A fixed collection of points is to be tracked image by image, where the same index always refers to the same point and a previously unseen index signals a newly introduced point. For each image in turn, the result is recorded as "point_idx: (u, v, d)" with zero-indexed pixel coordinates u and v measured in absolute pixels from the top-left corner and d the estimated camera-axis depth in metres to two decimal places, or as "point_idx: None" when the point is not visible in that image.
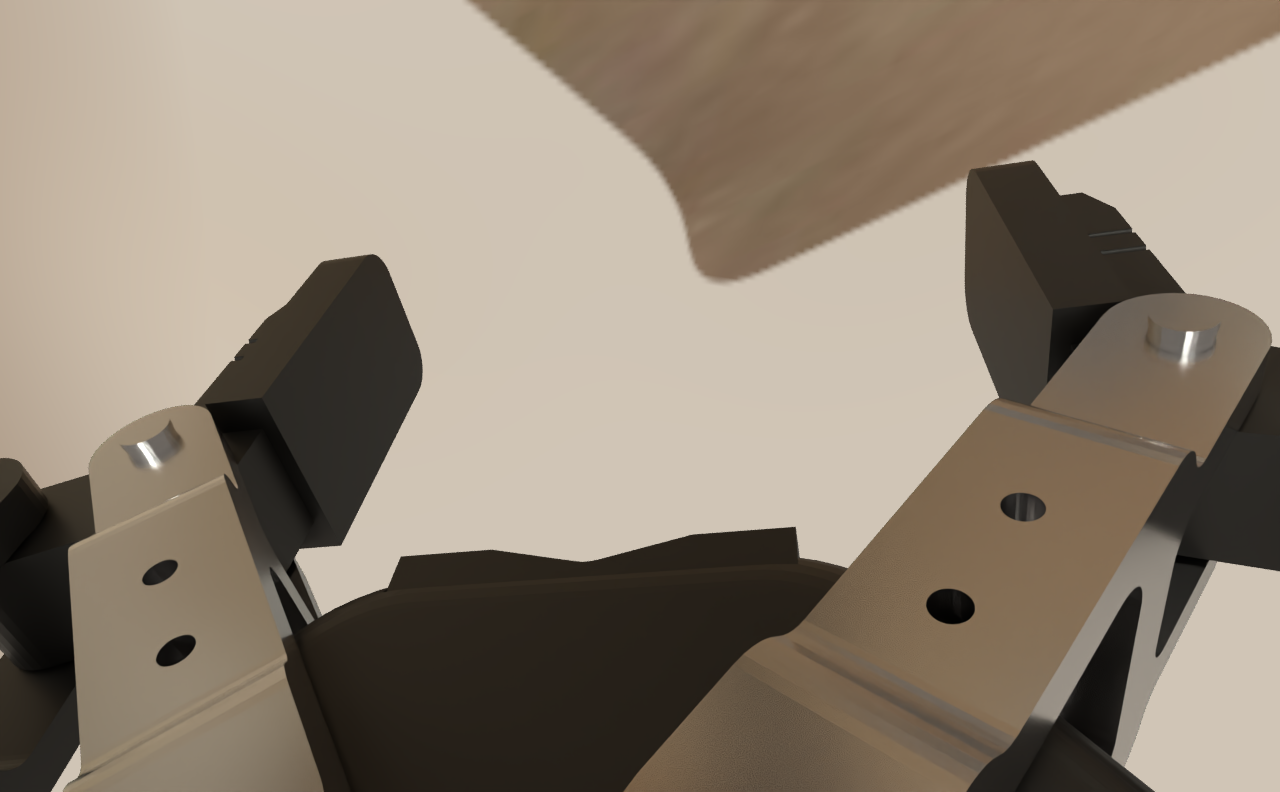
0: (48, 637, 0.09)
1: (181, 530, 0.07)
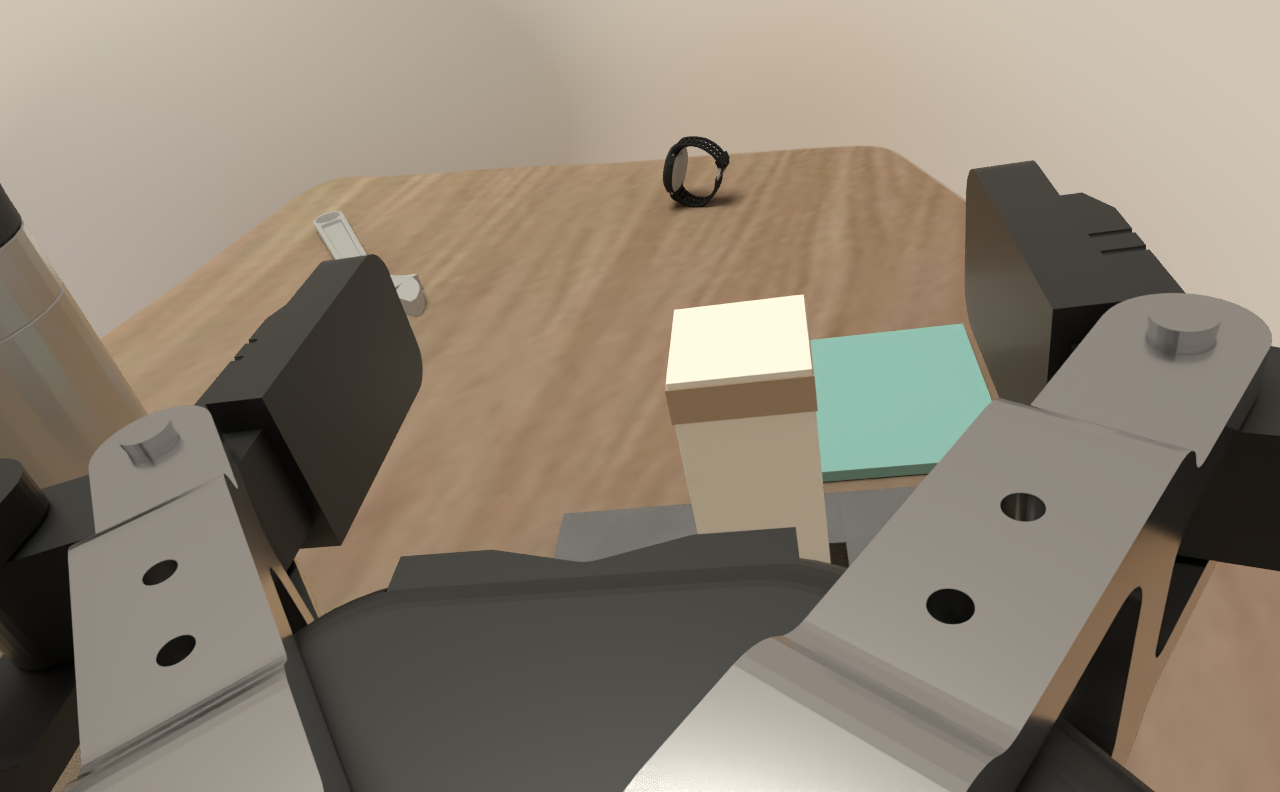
0: (48, 637, 0.09)
1: (181, 530, 0.07)
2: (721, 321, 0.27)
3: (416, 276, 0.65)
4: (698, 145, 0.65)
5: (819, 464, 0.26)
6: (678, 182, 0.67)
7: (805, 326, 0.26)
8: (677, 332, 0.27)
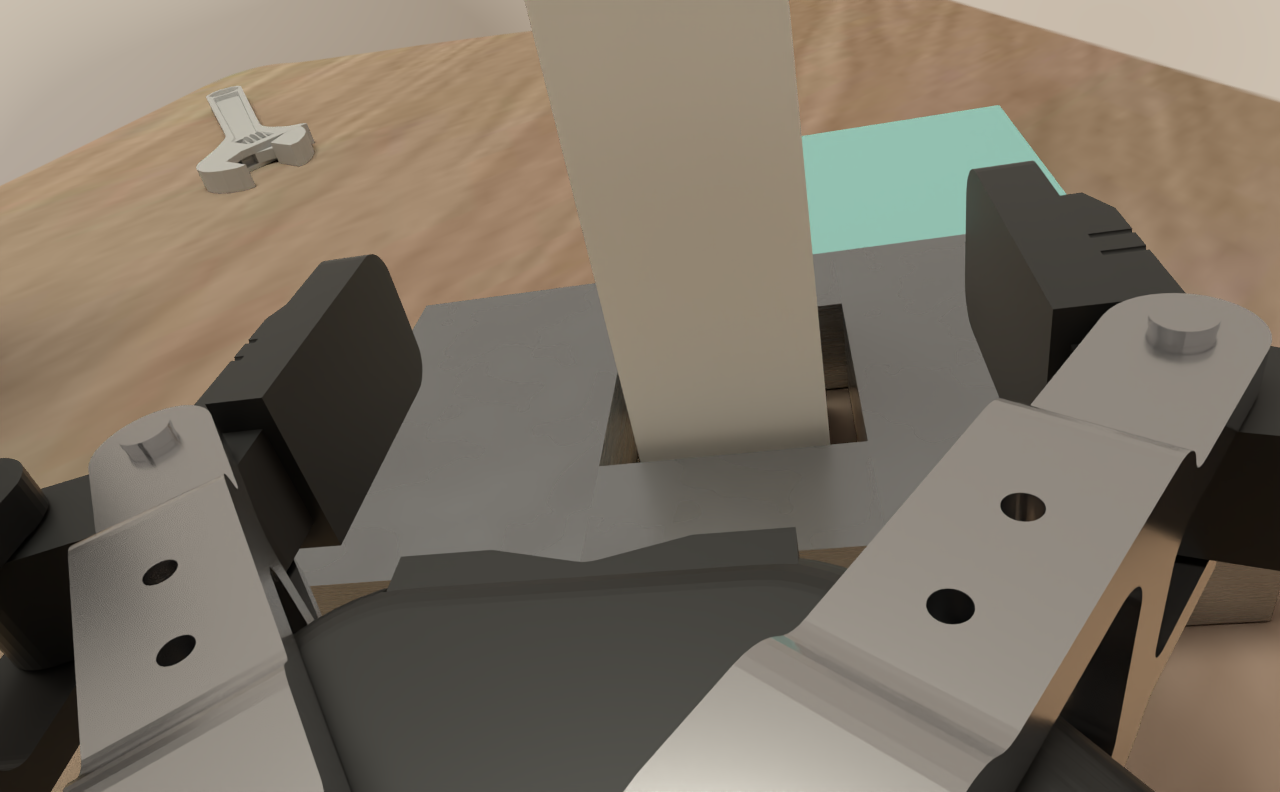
0: (48, 637, 0.09)
1: (181, 530, 0.07)
2: None
3: (305, 125, 0.53)
4: None
5: (785, 1, 0.13)
6: None
7: None
8: None
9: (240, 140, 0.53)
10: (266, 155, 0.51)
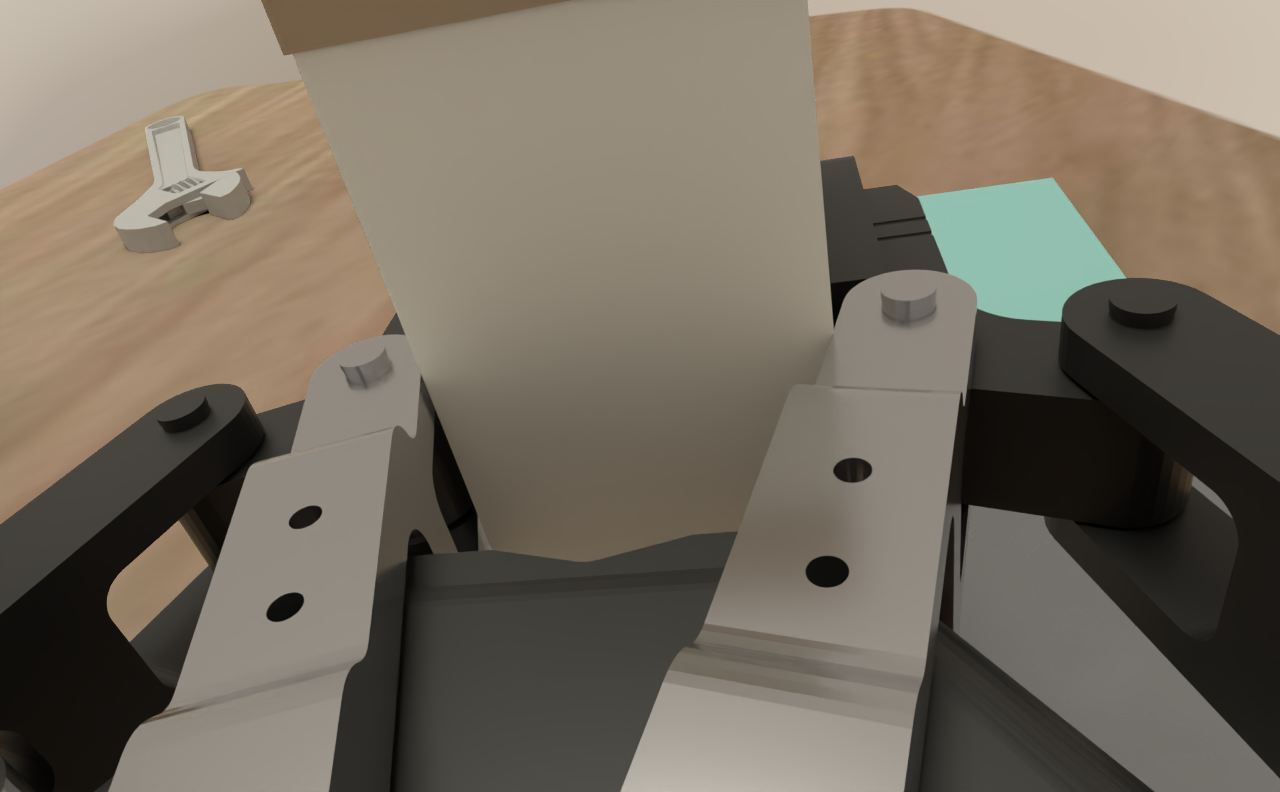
0: None
1: (338, 477, 0.07)
2: None
3: (242, 171, 0.47)
4: None
5: (818, 214, 0.07)
6: None
7: None
8: None
9: (169, 187, 0.47)
10: (196, 206, 0.45)
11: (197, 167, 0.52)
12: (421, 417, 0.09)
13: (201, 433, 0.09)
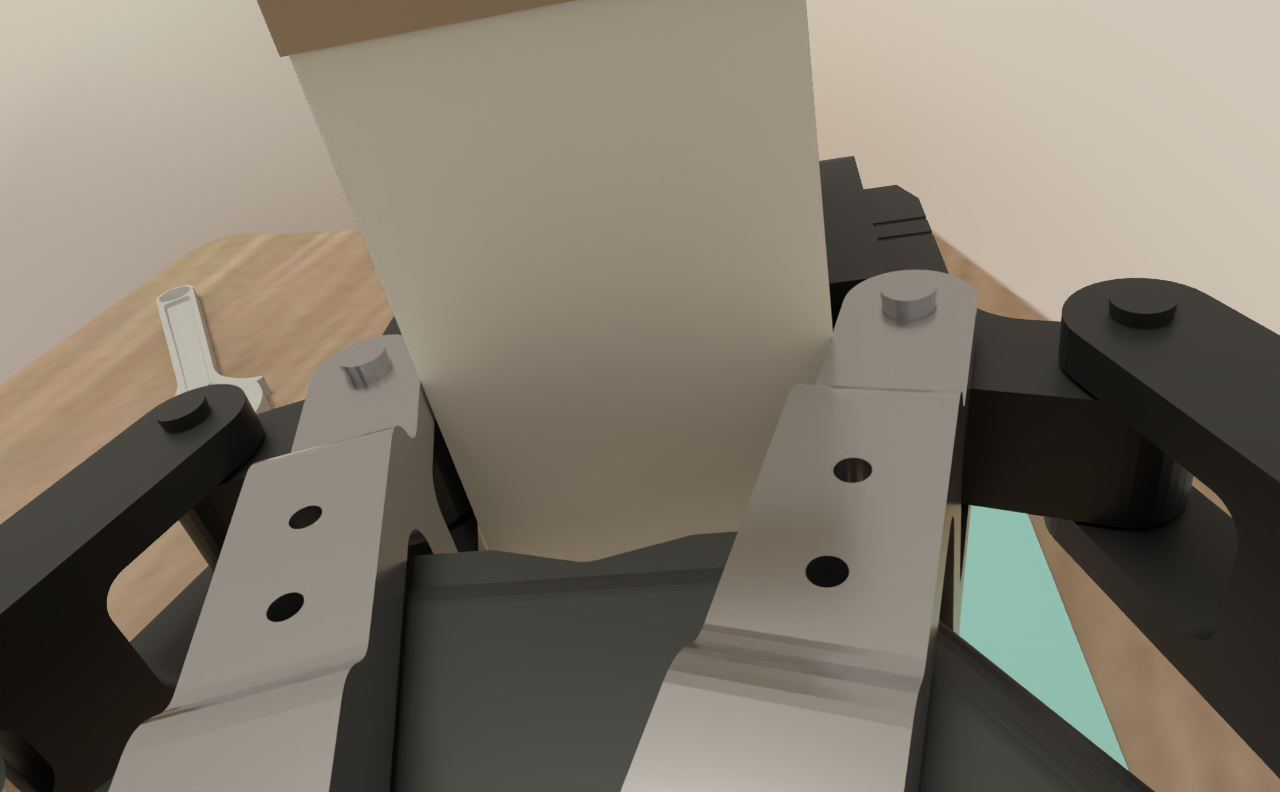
0: None
1: (338, 477, 0.07)
2: None
3: (262, 379, 0.50)
4: None
5: (817, 216, 0.07)
6: None
7: None
8: None
9: None
10: None
11: (214, 358, 0.56)
12: (421, 417, 0.09)
13: (201, 433, 0.09)
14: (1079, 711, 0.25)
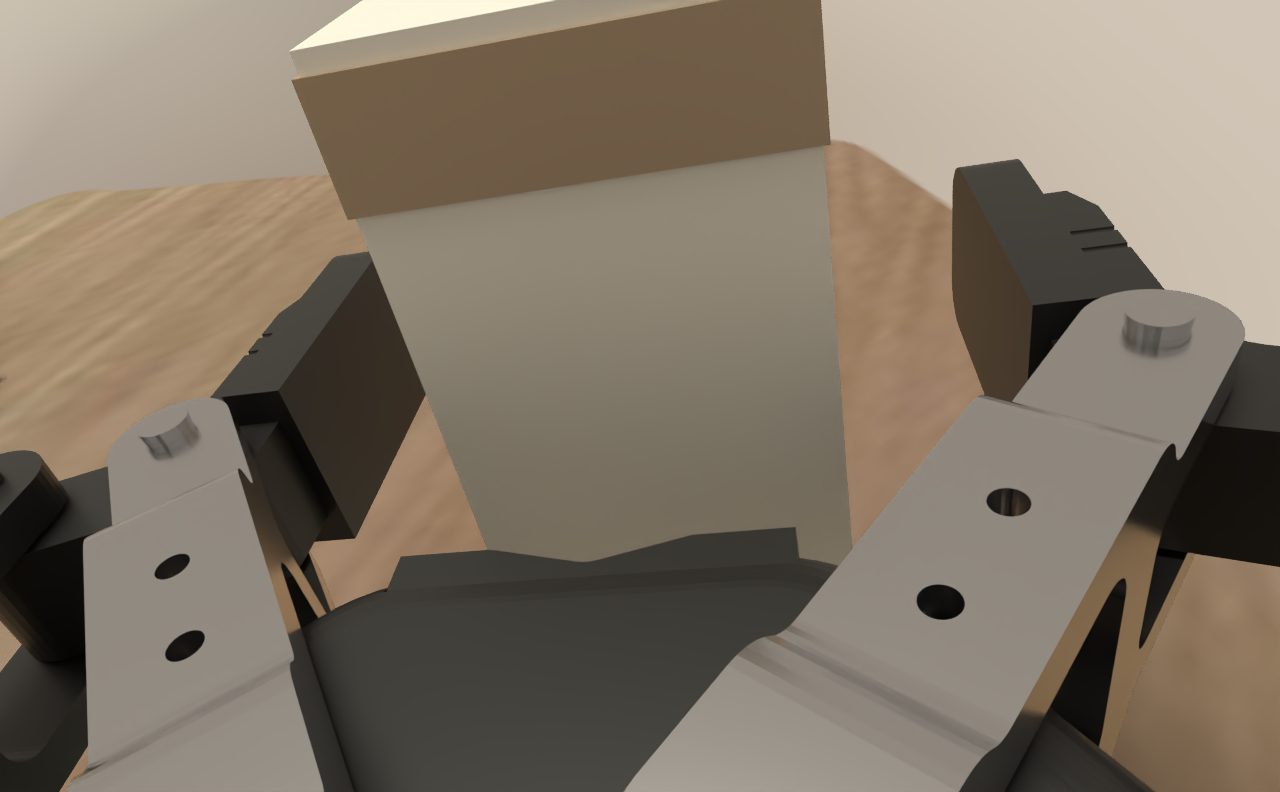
0: (65, 629, 0.09)
1: (194, 524, 0.07)
2: None
3: None
4: None
5: (833, 352, 0.08)
6: None
7: None
8: None
9: None
10: None
11: None
12: None
13: None
14: None
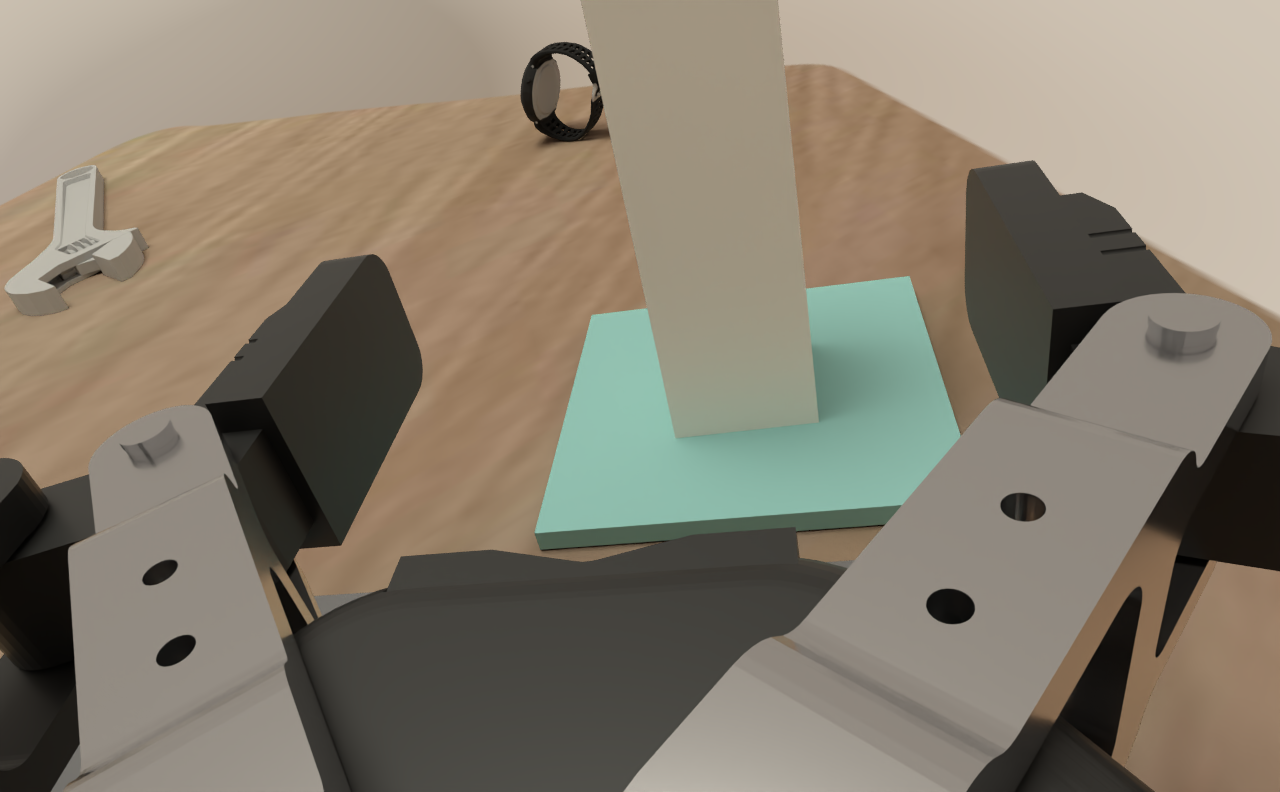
0: (48, 637, 0.09)
1: (181, 530, 0.07)
2: None
3: (136, 230, 0.48)
4: (564, 51, 0.47)
5: (777, 20, 0.18)
6: (545, 107, 0.50)
7: None
8: None
9: (66, 246, 0.49)
10: (89, 267, 0.47)
11: (100, 222, 0.54)
12: None
13: None
14: (937, 451, 0.23)
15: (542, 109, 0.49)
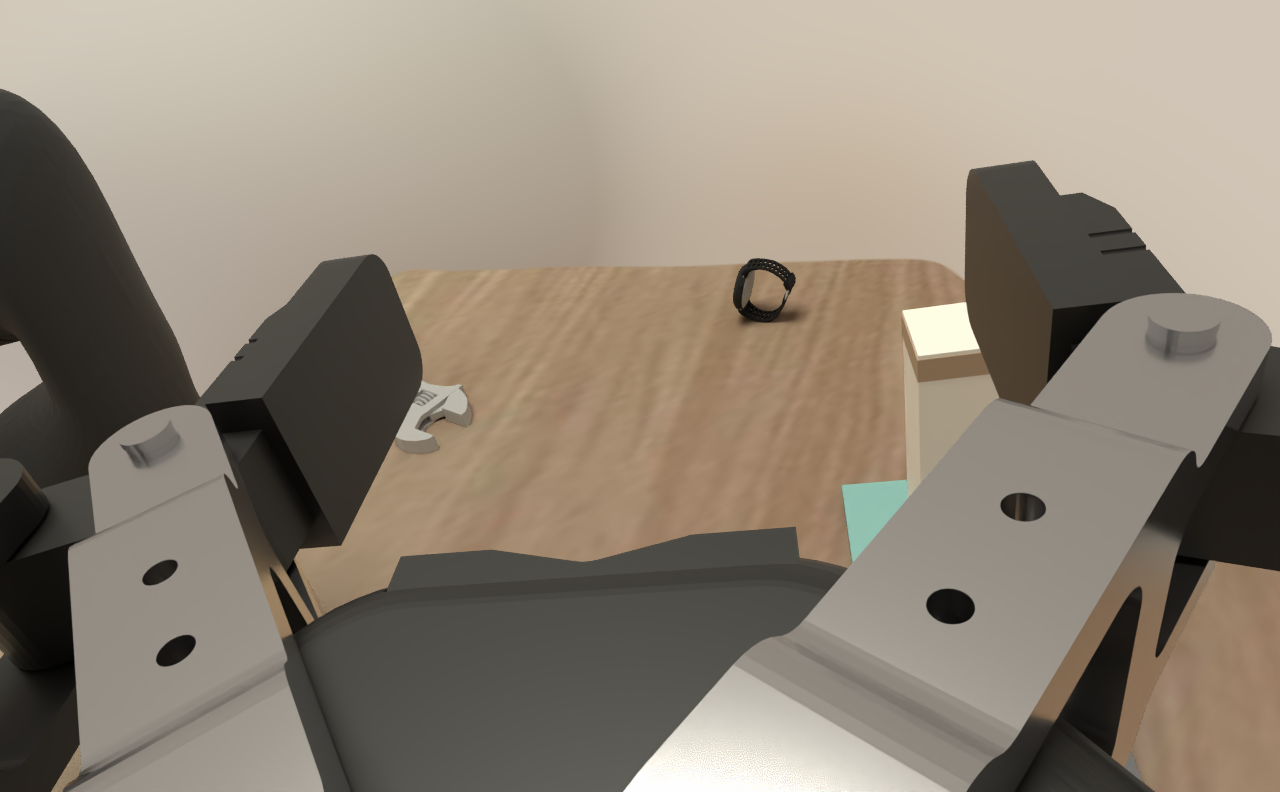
0: (48, 637, 0.09)
1: (181, 530, 0.07)
2: (939, 317, 0.41)
3: (461, 387, 0.71)
4: (767, 268, 0.69)
5: None
6: (747, 299, 0.72)
7: None
8: (911, 324, 0.41)
9: None
10: (437, 415, 0.69)
11: None
12: None
13: None
14: None
15: (745, 301, 0.72)
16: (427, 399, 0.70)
